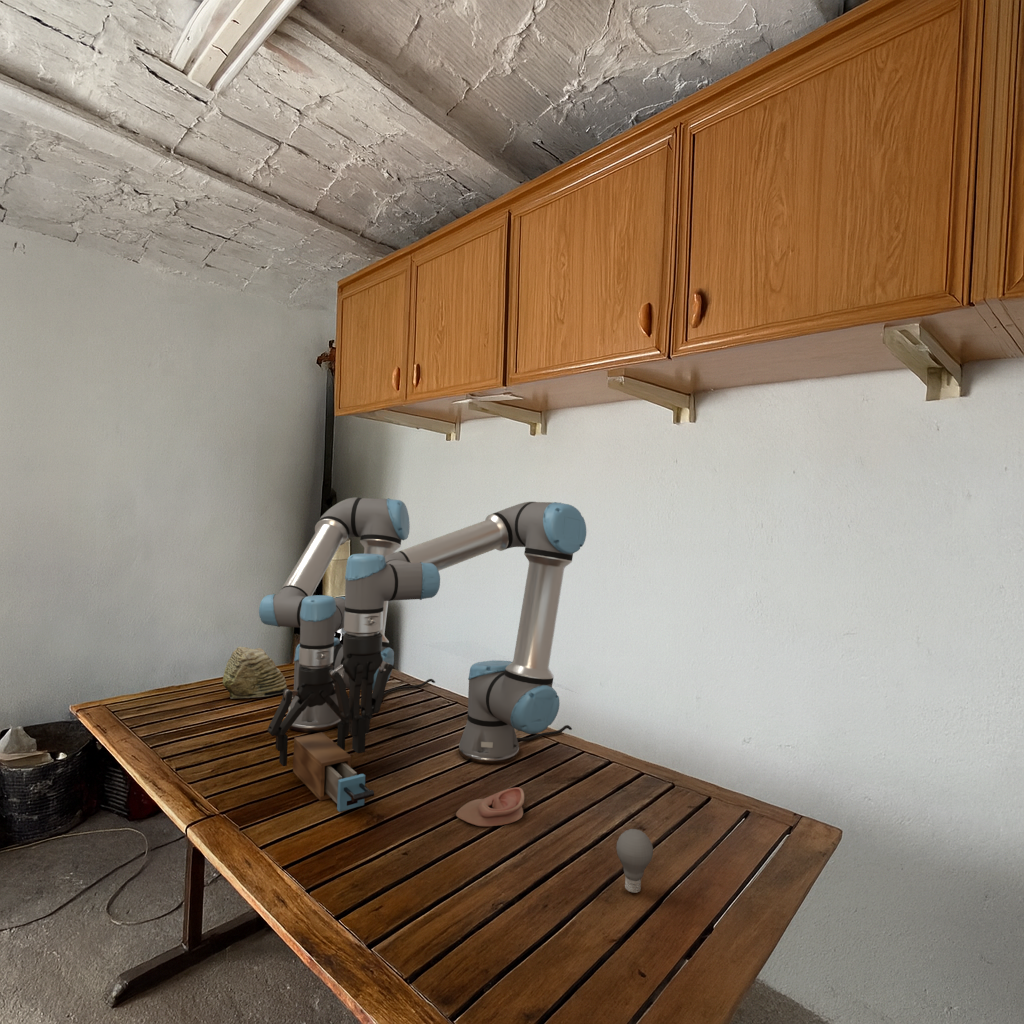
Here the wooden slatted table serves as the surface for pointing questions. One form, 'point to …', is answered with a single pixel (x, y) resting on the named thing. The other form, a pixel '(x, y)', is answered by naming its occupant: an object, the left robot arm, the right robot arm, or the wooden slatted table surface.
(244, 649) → the fossil
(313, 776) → the cabinet
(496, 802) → the anatomical model
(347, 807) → the drawer
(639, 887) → the light bulb
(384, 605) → the left robot arm
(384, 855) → the wooden slatted table surface
